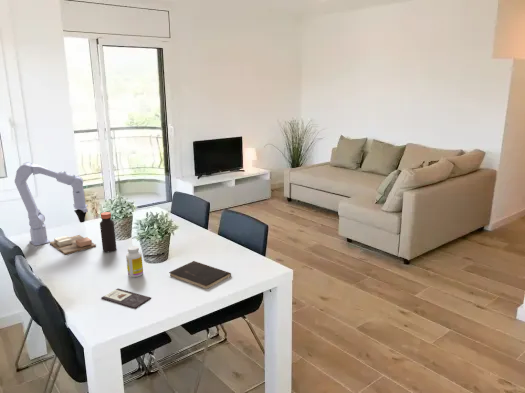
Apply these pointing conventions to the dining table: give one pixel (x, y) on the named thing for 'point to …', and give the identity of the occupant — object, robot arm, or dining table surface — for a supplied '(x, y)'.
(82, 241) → the block
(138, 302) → the chocolate bar
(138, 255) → the supplement bottle
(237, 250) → the dining table surface
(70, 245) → the board
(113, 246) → the vinegar
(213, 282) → the hardcover book
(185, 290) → the dining table surface
